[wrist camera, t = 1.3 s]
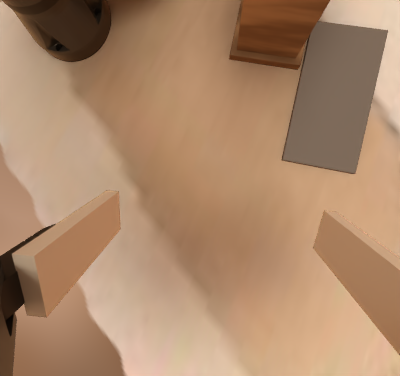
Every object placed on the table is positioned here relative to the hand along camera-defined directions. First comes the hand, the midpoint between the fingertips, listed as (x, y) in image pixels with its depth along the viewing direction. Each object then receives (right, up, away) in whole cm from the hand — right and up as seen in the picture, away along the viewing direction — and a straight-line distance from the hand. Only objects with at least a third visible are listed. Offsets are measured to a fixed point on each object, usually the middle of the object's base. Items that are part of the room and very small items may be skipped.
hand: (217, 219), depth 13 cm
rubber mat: (+22, +17, +22) cm, 35 cm away
